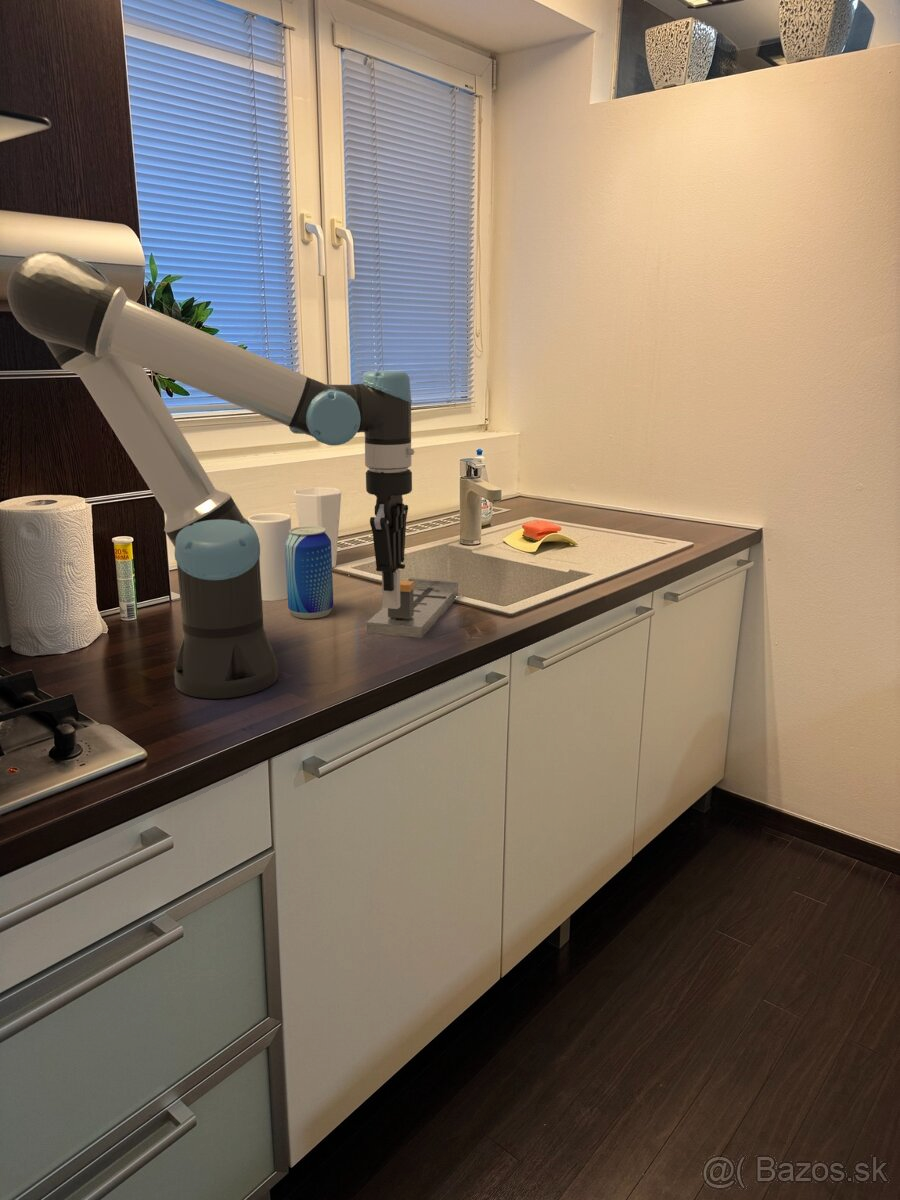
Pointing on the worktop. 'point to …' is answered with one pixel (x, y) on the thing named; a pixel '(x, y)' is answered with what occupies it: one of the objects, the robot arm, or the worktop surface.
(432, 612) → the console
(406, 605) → the fader
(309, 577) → the beer can
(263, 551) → the cup
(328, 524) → the cup
